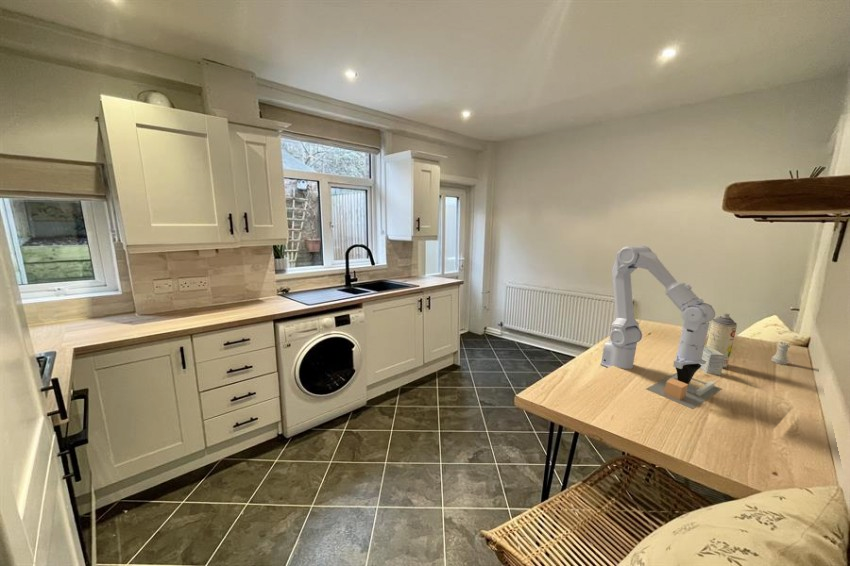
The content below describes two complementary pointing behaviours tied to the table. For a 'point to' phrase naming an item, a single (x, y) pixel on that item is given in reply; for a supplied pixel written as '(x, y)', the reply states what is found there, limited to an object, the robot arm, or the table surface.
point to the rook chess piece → (781, 354)
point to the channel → (692, 395)
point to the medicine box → (712, 361)
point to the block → (675, 389)
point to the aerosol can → (722, 336)
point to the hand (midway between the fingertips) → (682, 384)
